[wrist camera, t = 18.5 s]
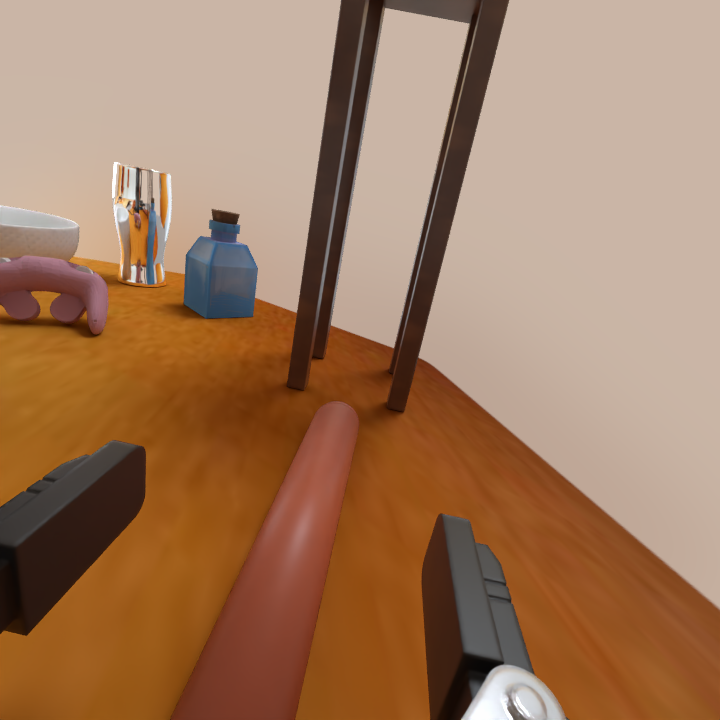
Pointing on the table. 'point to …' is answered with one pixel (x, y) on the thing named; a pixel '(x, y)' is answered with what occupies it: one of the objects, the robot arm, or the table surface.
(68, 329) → the table surface
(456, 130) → the shelf stand
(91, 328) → the video game controller
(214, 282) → the perfume bottle
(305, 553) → the sausage
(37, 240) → the cereal bowl
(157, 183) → the silver metal tumbler
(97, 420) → the table surface
